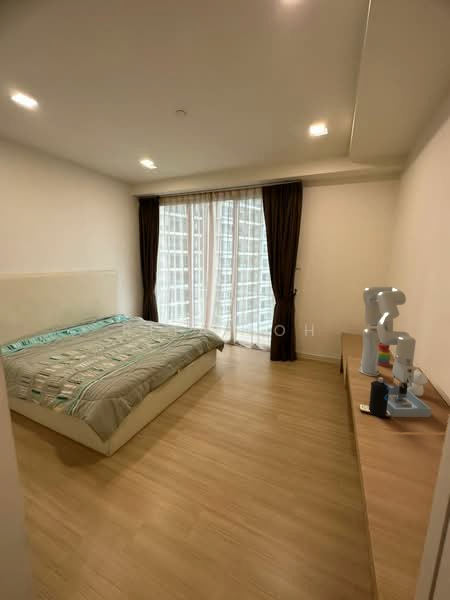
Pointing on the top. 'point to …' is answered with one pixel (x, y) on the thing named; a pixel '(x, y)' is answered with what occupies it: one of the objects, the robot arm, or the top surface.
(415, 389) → the cat figurine
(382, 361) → the stacking bear
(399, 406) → the inlet
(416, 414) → the walled box
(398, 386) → the block
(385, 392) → the aerosol can
